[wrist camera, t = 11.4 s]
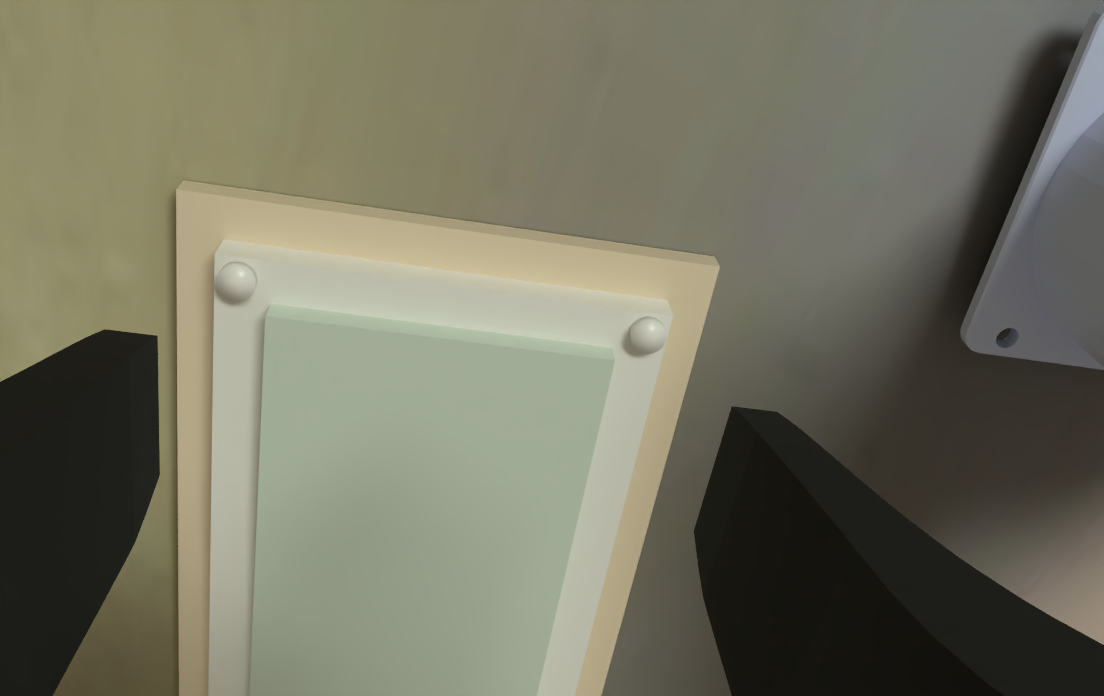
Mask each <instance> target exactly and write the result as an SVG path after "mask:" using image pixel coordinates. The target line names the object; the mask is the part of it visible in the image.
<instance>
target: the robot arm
mask: <svg viewBox="0 0 1104 696" xmlns="http://www.w3.org/2000/svg"><path fill="white" fill-rule="evenodd" d="M1007 328H1011V329H1010V332H1009V334H1008V335H1007V336H1006V337H1005V338H1003V339H1001V340H996V339H997V336H998V334H999V333H1000V332H1001V331H1003V330H1005V329H1007ZM960 335H961V339H962V341H963V342H964V343H965V344H966V345H967V346H968V347H969V348H970V349H971V350H972V351H974V352H977V353H982V354H989V355H997V356H1004V357H1012V358H1019V359H1026V360H1034V361H1041V362H1049V363H1056V364H1063V365H1071V366H1078V367H1086V368H1093V369H1100V370H1104V4H1102V5H1101V6H1100V7H1099V8H1098V9H1096V10H1095V11H1094V12H1093V14H1092V15H1091V17H1090V19H1089V20H1088V22H1087V24H1086V27H1085V29H1084V32H1083V34H1082V37H1081V39H1080V41H1079V44H1078V46H1077V49H1076V51H1075V53H1074V56H1073V58H1072V61H1071V63H1070V65H1069V68H1068V70H1067V73H1066V75H1065V77H1064V80H1063V82H1062V85H1061V87H1060V90H1059V92H1058V94H1057V97H1056V99H1055V102H1054V104H1053V106H1052V109H1051V111H1050V114H1049V116H1048V118H1047V121H1046V123H1045V126H1044V128H1043V130H1042V133H1041V135H1040V138H1039V140H1038V143H1037V145H1036V147H1035V150H1034V152H1033V155H1032V157H1031V159H1030V162H1029V164H1028V167H1027V169H1026V171H1025V174H1024V176H1023V179H1022V181H1021V184H1020V186H1019V188H1018V191H1017V193H1016V196H1015V198H1014V200H1013V203H1012V205H1011V208H1010V210H1009V212H1008V215H1007V217H1006V220H1005V222H1004V224H1003V227H1002V229H1001V232H1000V234H999V237H998V239H997V241H996V244H995V246H994V249H993V251H992V253H991V256H990V258H989V261H988V263H987V265H986V268H985V270H984V273H983V275H982V278H981V280H980V282H979V285H978V287H977V290H976V292H975V294H974V297H973V299H972V302H971V304H970V306H969V309H968V311H967V314H966V316H965V318H964V321H963V323H962V326H961V330H960ZM159 475H160V465H159V403H158V341H157V336H154V335H146V334H138V333H130V332H122V331H113V330H102V331H100V332H98V333H95V334H93V335H91V336H88V337H86V338H84V339H82V340H80V341H78V342H76V343H74V344H72V345H70V346H68V347H67V348H65V349H63V350H61V351H59V352H57V353H55V354H53V355H51V356H49V357H47V358H46V359H44V360H42V361H40V362H38V363H36V364H34V365H32V366H30V367H28V368H27V369H25V370H23V371H21V372H19V373H17V374H15V375H13V376H11V377H9V378H7V379H5V380H3V381H1V382H0V696H52V695H53V694H54V692H55V690H56V688H57V686H58V684H59V683H60V681H61V679H62V677H63V675H64V673H65V672H66V670H67V668H68V666H69V664H70V662H71V661H72V659H73V657H74V655H75V653H76V651H77V650H78V648H79V646H80V644H81V642H82V640H83V638H84V637H85V635H86V633H87V631H88V629H89V627H90V626H91V624H92V622H93V620H94V618H95V617H96V615H97V613H98V611H99V609H100V607H101V606H102V604H103V602H104V600H105V598H106V596H107V594H108V593H109V591H110V589H111V587H112V585H113V583H114V581H115V579H116V578H117V576H118V574H119V572H120V570H121V568H122V566H123V565H124V563H125V561H126V559H127V557H128V555H129V553H130V551H131V549H132V547H133V545H134V543H135V541H136V538H137V536H138V533H139V530H140V528H141V525H142V523H143V520H144V517H145V515H146V512H147V509H148V506H149V504H150V501H151V498H152V495H153V492H154V489H155V487H156V484H157V481H158V478H159ZM694 535H695V543H696V551H697V559H698V567H699V573H700V579H701V586H702V592H703V598H704V602H705V605H706V609H707V612H708V616H709V620H710V623H711V626H712V630H713V633H714V637H715V640H716V644H717V647H718V651H719V654H720V657H721V661H722V664H723V667H724V671H725V674H726V677H727V681H728V684H729V687H730V691H731V694H732V696H1104V645H1102V644H1101V643H1099V642H1097V641H1095V640H1093V639H1091V638H1090V637H1088V636H1086V635H1084V634H1082V633H1081V632H1079V631H1077V630H1075V629H1073V628H1071V627H1070V626H1068V625H1066V624H1064V623H1062V622H1061V621H1059V620H1057V619H1055V618H1053V617H1051V616H1050V615H1048V614H1046V613H1045V612H1043V611H1041V610H1040V609H1038V608H1036V607H1035V606H1033V605H1031V604H1029V603H1028V602H1026V601H1024V600H1023V599H1021V598H1020V597H1018V596H1016V595H1015V594H1013V593H1012V592H1010V591H1009V590H1007V589H1006V588H1004V587H1003V586H1001V585H1000V584H998V583H996V582H995V581H993V580H992V579H990V578H989V577H987V576H986V575H984V574H983V573H981V572H979V571H978V570H976V569H975V568H973V567H972V566H970V565H969V564H968V563H966V562H965V561H963V560H962V559H960V558H959V557H958V556H956V555H955V554H953V553H952V552H950V551H949V550H948V549H946V548H945V547H944V546H942V545H941V544H940V543H938V542H937V541H936V540H934V539H933V538H932V537H930V536H929V535H928V534H926V533H925V532H924V531H923V530H921V529H920V528H919V527H917V526H916V525H915V524H913V523H912V522H911V521H909V520H908V519H907V518H906V517H904V516H903V515H902V514H901V513H899V512H898V511H897V510H896V509H894V508H893V507H892V506H891V505H889V504H888V503H887V502H886V501H884V500H883V499H882V498H881V497H880V496H878V495H877V494H876V493H875V492H874V491H872V490H871V489H870V488H869V487H868V486H866V485H865V484H864V483H863V482H862V481H860V480H859V479H858V478H857V477H856V476H855V475H853V474H852V473H851V472H850V471H849V470H848V469H846V468H845V467H844V466H843V465H842V464H841V463H839V462H838V461H837V460H836V459H835V458H834V457H832V456H831V455H830V454H829V453H828V452H827V451H825V450H824V449H823V448H822V447H821V446H820V445H818V444H817V443H816V442H815V441H814V440H813V439H811V438H810V437H809V436H808V435H807V434H805V433H804V432H803V431H802V430H801V429H799V428H798V427H797V426H796V425H794V424H793V423H792V422H790V421H789V420H788V419H786V418H785V417H783V416H782V415H781V414H779V413H778V412H773V411H765V410H757V409H748V408H740V407H732V408H731V411H730V414H729V418H728V421H727V424H726V427H725V431H724V434H723V437H722V441H721V444H720V447H719V450H718V454H717V457H716V460H715V464H714V467H713V470H712V473H711V477H710V480H709V483H708V486H707V490H706V493H705V496H704V500H703V503H702V506H701V509H700V513H699V516H698V519H697V523H696V526H695V529H694Z"/></svg>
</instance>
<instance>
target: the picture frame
mask: <svg viewBox="0 0 1104 696" xmlns="http://www.w3.org/2000/svg"><path fill="white" fill-rule="evenodd" d="M176 252H177V430H178V609H179V696H601V695H602V691H603V687H604V684H605V680H606V676H607V673H608V669H609V666H610V662H611V658H612V655H613V651H614V648H615V644H616V640H617V637H618V633H619V629H620V626H621V622H622V619H623V615H624V611H625V608H626V604H627V601H628V597H629V593H630V590H631V586H632V582H633V579H634V575H635V572H636V568H637V564H638V561H639V557H640V554H641V550H642V546H643V543H644V539H645V535H646V532H647V528H648V525H649V521H650V517H651V514H652V510H653V507H654V503H655V499H656V496H657V492H658V488H659V485H660V481H661V478H662V474H663V470H664V467H665V463H666V460H667V456H668V452H669V449H670V445H671V442H672V438H673V434H674V431H675V427H676V423H677V420H678V416H679V413H680V409H681V405H682V402H683V398H684V395H685V391H686V387H687V384H688V380H689V376H690V373H691V369H692V366H693V362H694V358H695V355H696V351H697V348H698V344H699V340H700V337H701V333H702V329H703V326H704V322H705V319H706V315H707V311H708V308H709V304H710V301H711V297H712V293H713V290H714V286H715V282H716V279H717V275H718V272H719V268H720V266H719V264H718V262H717V260H716V258H715V257H714V256H707V255H700V254H693V253H686V252H679V251H673V250H666V249H659V248H652V247H645V246H638V245H631V244H624V243H617V242H610V241H603V240H596V239H589V238H582V237H575V236H568V235H561V234H554V233H547V232H540V231H533V230H526V229H519V228H512V227H505V226H498V225H491V224H485V223H478V222H471V221H464V220H457V219H450V218H443V217H436V216H429V215H422V214H415V213H408V212H401V211H394V210H387V209H380V208H373V207H366V206H359V205H352V204H345V203H338V202H331V201H324V200H317V199H310V198H303V197H297V196H290V195H283V194H276V193H269V192H262V191H255V190H248V189H241V188H234V187H227V186H220V185H213V184H206V183H199V182H192V181H185V180H184V181H183V182H182V183H181V184H180V186H179V187H178V188H177V189H176Z"/></svg>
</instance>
